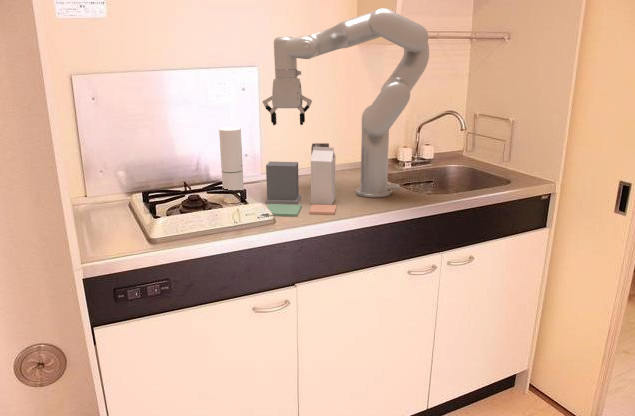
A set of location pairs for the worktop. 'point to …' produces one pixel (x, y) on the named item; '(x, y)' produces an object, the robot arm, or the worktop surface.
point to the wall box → (282, 183)
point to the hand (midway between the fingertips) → (288, 124)
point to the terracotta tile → (323, 209)
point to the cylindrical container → (231, 159)
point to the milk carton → (323, 175)
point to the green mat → (284, 209)
